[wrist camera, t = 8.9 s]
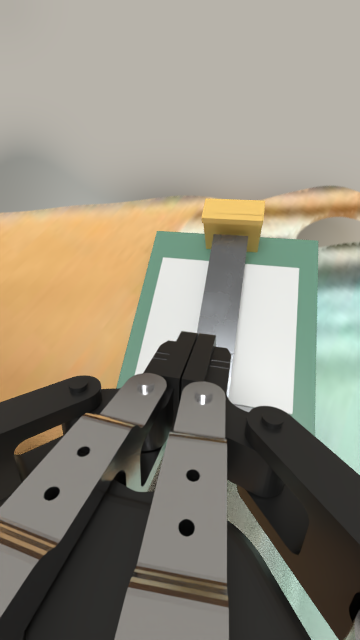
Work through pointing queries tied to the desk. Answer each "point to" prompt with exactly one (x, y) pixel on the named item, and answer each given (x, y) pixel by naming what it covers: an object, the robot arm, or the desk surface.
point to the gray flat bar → (223, 291)
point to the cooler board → (264, 257)
